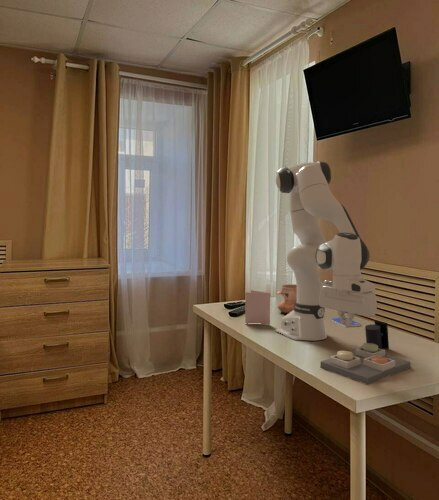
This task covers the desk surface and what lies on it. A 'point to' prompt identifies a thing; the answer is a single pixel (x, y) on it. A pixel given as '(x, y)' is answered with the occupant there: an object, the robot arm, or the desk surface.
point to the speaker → (377, 334)
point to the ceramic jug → (288, 297)
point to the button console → (366, 366)
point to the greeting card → (257, 307)
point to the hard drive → (345, 325)
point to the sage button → (370, 347)
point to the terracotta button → (379, 359)
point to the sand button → (345, 355)
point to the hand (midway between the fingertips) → (346, 325)
